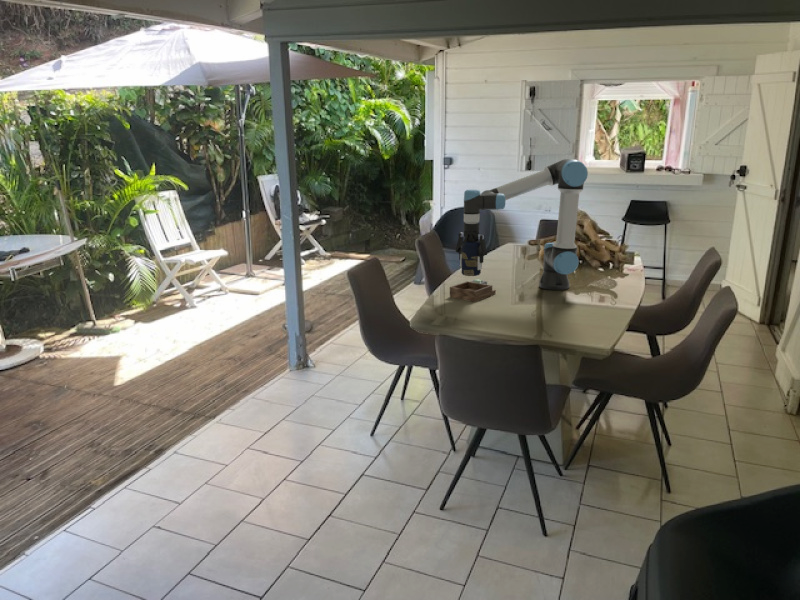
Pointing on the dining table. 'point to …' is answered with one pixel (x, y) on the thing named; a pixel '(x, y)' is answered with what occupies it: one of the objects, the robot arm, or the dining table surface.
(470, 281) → the button console
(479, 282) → the button
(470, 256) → the canister
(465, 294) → the wooden tray
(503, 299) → the dining table surface
